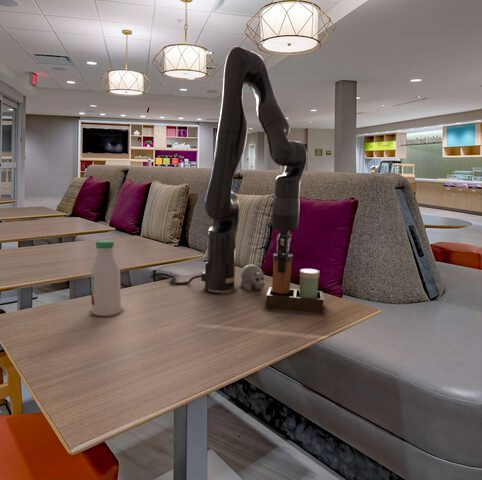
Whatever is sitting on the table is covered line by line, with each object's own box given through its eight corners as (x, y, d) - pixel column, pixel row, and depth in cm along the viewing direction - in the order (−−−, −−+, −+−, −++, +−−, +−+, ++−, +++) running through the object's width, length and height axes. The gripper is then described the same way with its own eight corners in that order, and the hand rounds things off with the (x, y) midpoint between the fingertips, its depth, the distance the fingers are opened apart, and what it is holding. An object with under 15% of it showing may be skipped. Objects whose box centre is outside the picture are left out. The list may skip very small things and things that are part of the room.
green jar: (297, 309, 120) (299, 272, 118) (298, 303, 125) (300, 268, 124) (317, 311, 119) (319, 273, 117) (317, 305, 124) (319, 269, 123)
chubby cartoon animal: (251, 297, 132) (251, 271, 131) (237, 287, 143) (238, 262, 142) (271, 295, 135) (272, 269, 133) (256, 285, 146) (257, 261, 144)
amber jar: (270, 292, 121) (272, 255, 119) (272, 287, 126) (274, 252, 124) (289, 294, 120) (292, 257, 118) (291, 289, 125) (293, 253, 123)
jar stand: (265, 310, 120) (266, 295, 120) (268, 301, 129) (269, 287, 128) (322, 315, 118) (323, 299, 117) (321, 306, 126) (322, 291, 125)
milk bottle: (126, 309, 118) (125, 240, 115) (109, 318, 111) (108, 244, 108) (103, 306, 121) (101, 237, 117) (85, 314, 114) (83, 242, 110)
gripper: (275, 209, 126) (272, 263, 129) (269, 214, 113) (266, 274, 116) (300, 210, 125) (296, 265, 128) (297, 215, 111) (293, 277, 114)
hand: (282, 269), depth 122 cm, fingers closed on amber jar, 5 cm apart
